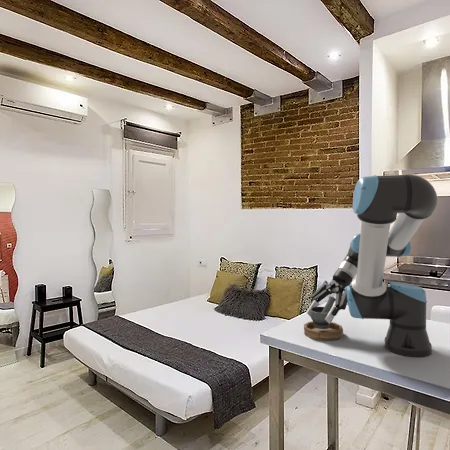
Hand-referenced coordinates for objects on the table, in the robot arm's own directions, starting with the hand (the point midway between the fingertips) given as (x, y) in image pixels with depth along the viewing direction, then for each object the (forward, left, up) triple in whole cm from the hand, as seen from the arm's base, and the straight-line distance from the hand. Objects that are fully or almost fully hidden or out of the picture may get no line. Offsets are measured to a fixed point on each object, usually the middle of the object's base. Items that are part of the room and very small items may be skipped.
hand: (317, 317), depth 142 cm
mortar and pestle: (0, -3, -4) cm, 5 cm away
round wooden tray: (0, -3, -7) cm, 8 cm away
